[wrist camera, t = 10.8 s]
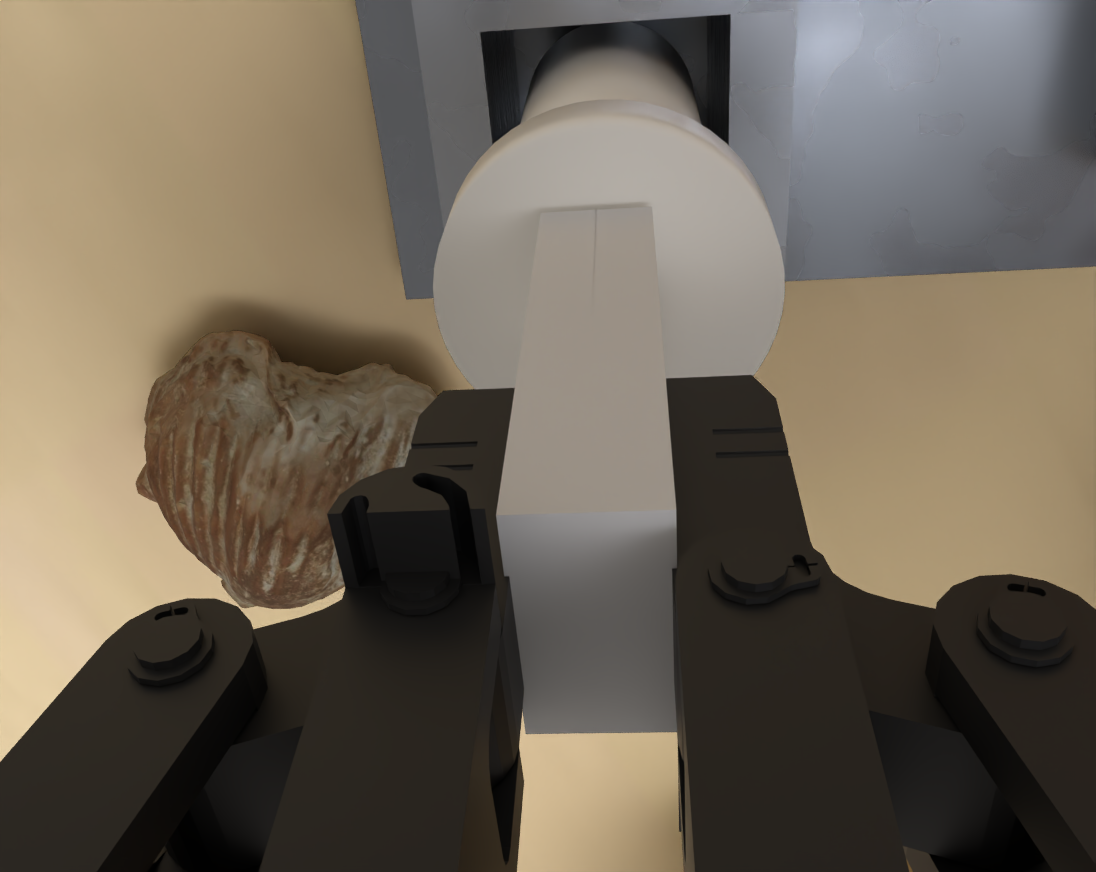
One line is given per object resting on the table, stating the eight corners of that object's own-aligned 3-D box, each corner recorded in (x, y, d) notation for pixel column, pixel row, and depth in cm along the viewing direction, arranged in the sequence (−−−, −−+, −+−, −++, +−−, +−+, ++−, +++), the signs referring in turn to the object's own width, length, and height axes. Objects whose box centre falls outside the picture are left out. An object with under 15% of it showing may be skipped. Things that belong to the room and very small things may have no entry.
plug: (726, 211, 24) (777, 439, 16) (507, 223, 24) (456, 450, 17) (729, -26, 21) (794, 113, 13) (482, -7, 21) (408, 138, 14)
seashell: (423, 532, 37) (490, 357, 32) (393, 696, 32) (469, 515, 27) (156, 460, 35) (185, 264, 31) (76, 620, 30) (96, 413, 25)
